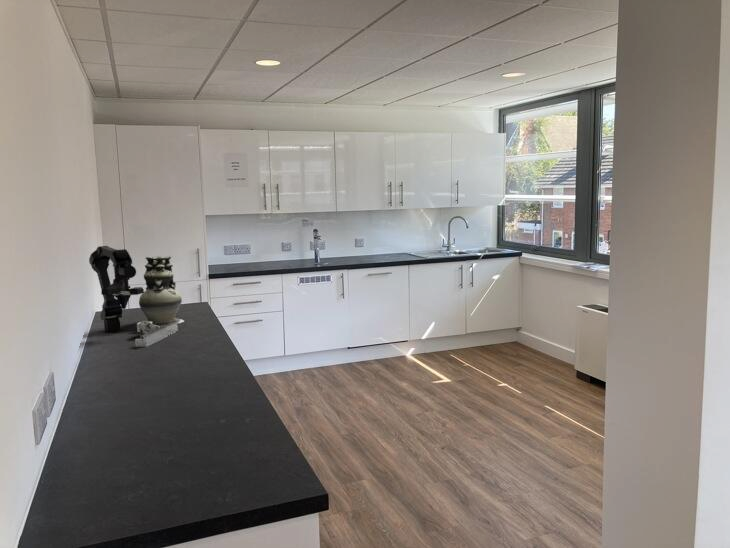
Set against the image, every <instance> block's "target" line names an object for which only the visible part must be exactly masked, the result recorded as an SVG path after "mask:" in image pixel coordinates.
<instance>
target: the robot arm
mask: <svg viewBox="0 0 730 548" xmlns="http://www.w3.org/2000/svg"><path fill="white" fill-rule="evenodd" d="M129 253H130V252H129V251H128V250H127V249H126V248H123V249H116V248H113V247H111V246H108V245H101V246H100V245H99V246H97V247H96V249H95V250H94V251H93V252H92V253H90V256H89V258H88V262H89V265H90V266H91V268H92V270H93V271H94V272H96V274H97V278H98V282H99V285H100V290H101V293H100V294H101V295H102V297H103V303H102V304H101V305H102V306H101V307H102V310H101V312H100V315H99V316H100V320H102V321H103V323H104V326H103V327H104V329H103V330H102V333H116V332H118V331H120V330H122V326H121V321H120V319H122V318H123V317H122V316H123V310H125V309H126V308H127V305H128V304H129V300H130V298H131V296H137V295H142V293H144V292H145V289H144V288H143V286H136V287H135V286H134V287H132V288H131V286H130V285H129V284H130V283H129V281H130V279H133V278H134V277H135V276H136V275H137V270H136V267H135V266H133V265H132V264H133V258H132V257H131V255H130V254H129ZM110 261H111V262H112V267H113V271H114V278H113V280H112V283H111V279H110V276H109V272H108V268H109V266H110Z"/></svg>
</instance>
